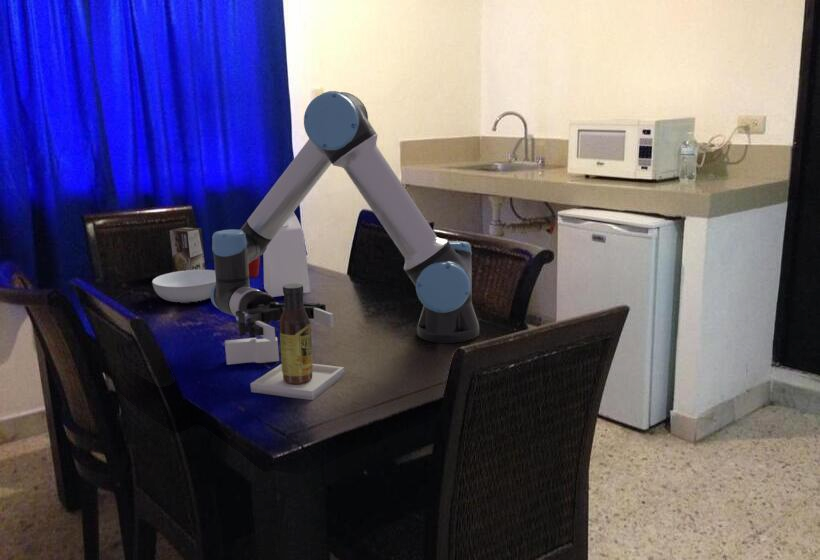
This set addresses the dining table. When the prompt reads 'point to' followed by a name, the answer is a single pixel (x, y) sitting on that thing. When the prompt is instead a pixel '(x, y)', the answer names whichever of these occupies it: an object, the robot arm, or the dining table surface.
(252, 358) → the white stepped block
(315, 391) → the tray
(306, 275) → the milk
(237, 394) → the dining table surface
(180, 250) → the coffee box
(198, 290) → the serving bowl
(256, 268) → the plastic cup
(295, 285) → the sauce bottle
